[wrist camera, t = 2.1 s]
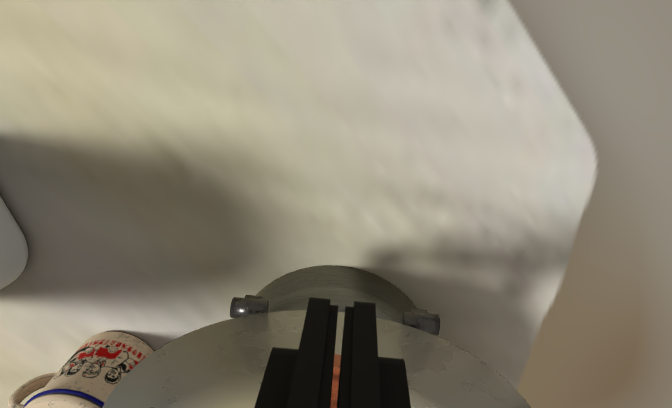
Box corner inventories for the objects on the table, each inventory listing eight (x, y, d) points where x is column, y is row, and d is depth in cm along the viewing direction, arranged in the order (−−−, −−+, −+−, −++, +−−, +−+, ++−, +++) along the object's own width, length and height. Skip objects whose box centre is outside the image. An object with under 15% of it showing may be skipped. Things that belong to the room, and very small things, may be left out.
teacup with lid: (163, 332, 45) (99, 427, 34) (167, 403, 48) (111, 511, 37) (44, 320, 45) (-57, 411, 34) (56, 392, 48) (-32, 496, 37)
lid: (192, 315, 32) (193, 279, 31) (476, 339, 31) (481, 303, 31) (-67, 629, 12) (-76, 545, 12) (686, 707, 12) (709, 622, 11)
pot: (204, 235, 41) (154, 298, 31) (479, 257, 40) (518, 328, 30) (211, 413, 48) (173, 510, 38) (443, 434, 47) (465, 538, 38)
